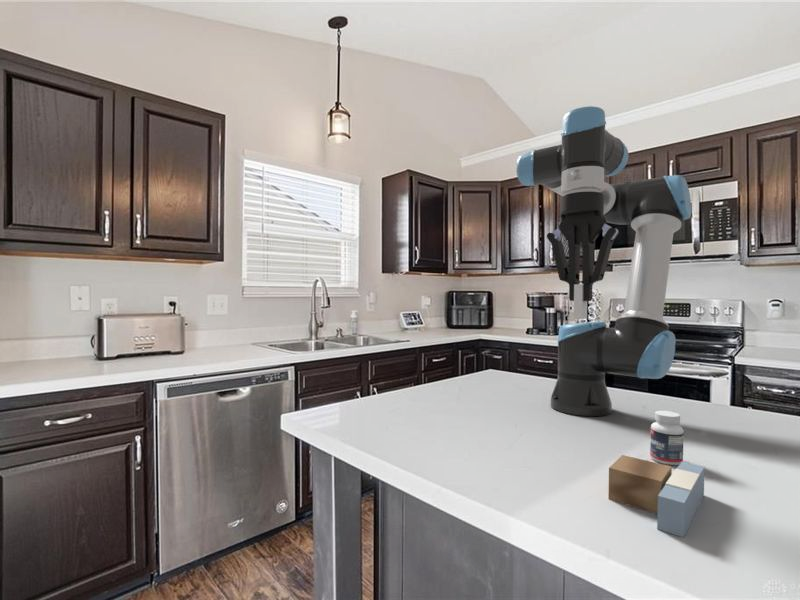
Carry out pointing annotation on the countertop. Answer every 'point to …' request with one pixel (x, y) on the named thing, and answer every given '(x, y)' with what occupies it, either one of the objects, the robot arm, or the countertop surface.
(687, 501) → the blue and cream block
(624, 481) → the walnut block
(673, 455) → the pill bottle
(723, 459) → the countertop surface
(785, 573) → the countertop surface
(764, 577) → the countertop surface
